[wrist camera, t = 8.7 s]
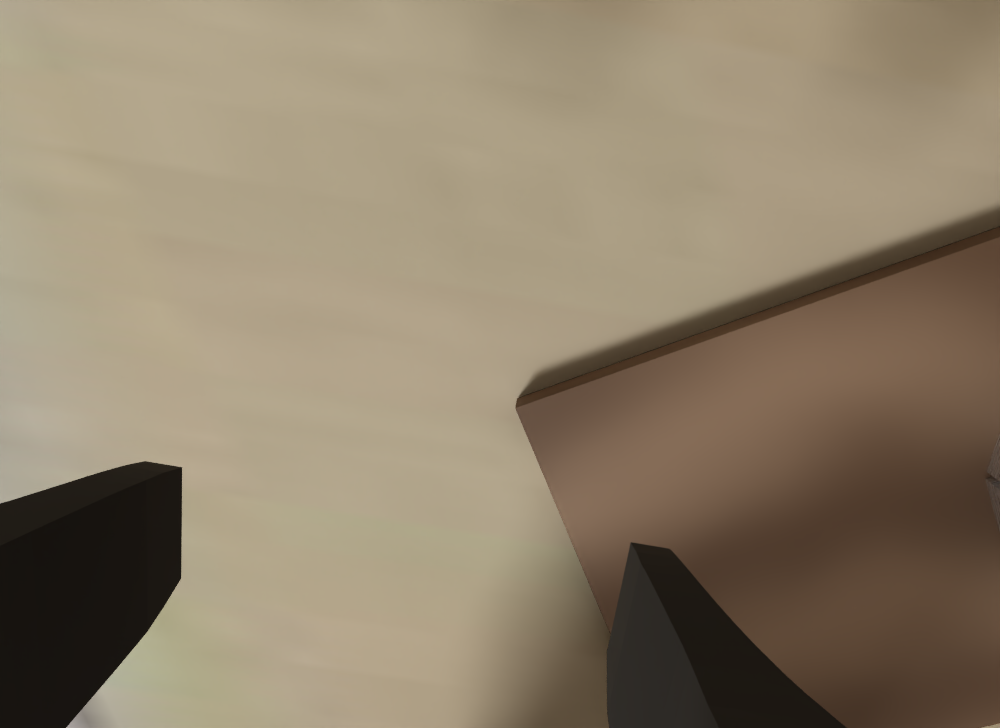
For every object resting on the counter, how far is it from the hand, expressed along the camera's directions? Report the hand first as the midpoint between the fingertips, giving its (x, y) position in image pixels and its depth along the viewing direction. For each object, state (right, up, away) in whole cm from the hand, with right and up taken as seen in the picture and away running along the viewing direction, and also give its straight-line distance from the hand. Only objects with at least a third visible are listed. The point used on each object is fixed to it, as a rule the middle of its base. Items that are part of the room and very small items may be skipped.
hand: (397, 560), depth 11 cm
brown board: (+14, -1, +9) cm, 17 cm away
